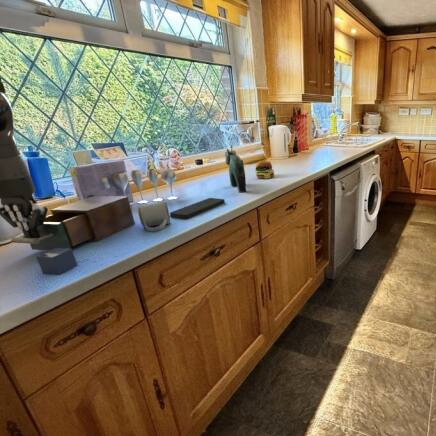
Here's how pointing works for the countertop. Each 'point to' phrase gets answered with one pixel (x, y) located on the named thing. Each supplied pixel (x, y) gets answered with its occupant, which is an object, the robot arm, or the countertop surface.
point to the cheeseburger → (264, 170)
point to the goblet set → (136, 175)
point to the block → (57, 261)
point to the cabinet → (102, 214)
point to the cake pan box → (98, 180)
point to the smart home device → (197, 208)
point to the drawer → (60, 232)
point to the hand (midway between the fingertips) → (34, 242)
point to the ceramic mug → (154, 215)
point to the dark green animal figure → (236, 170)
